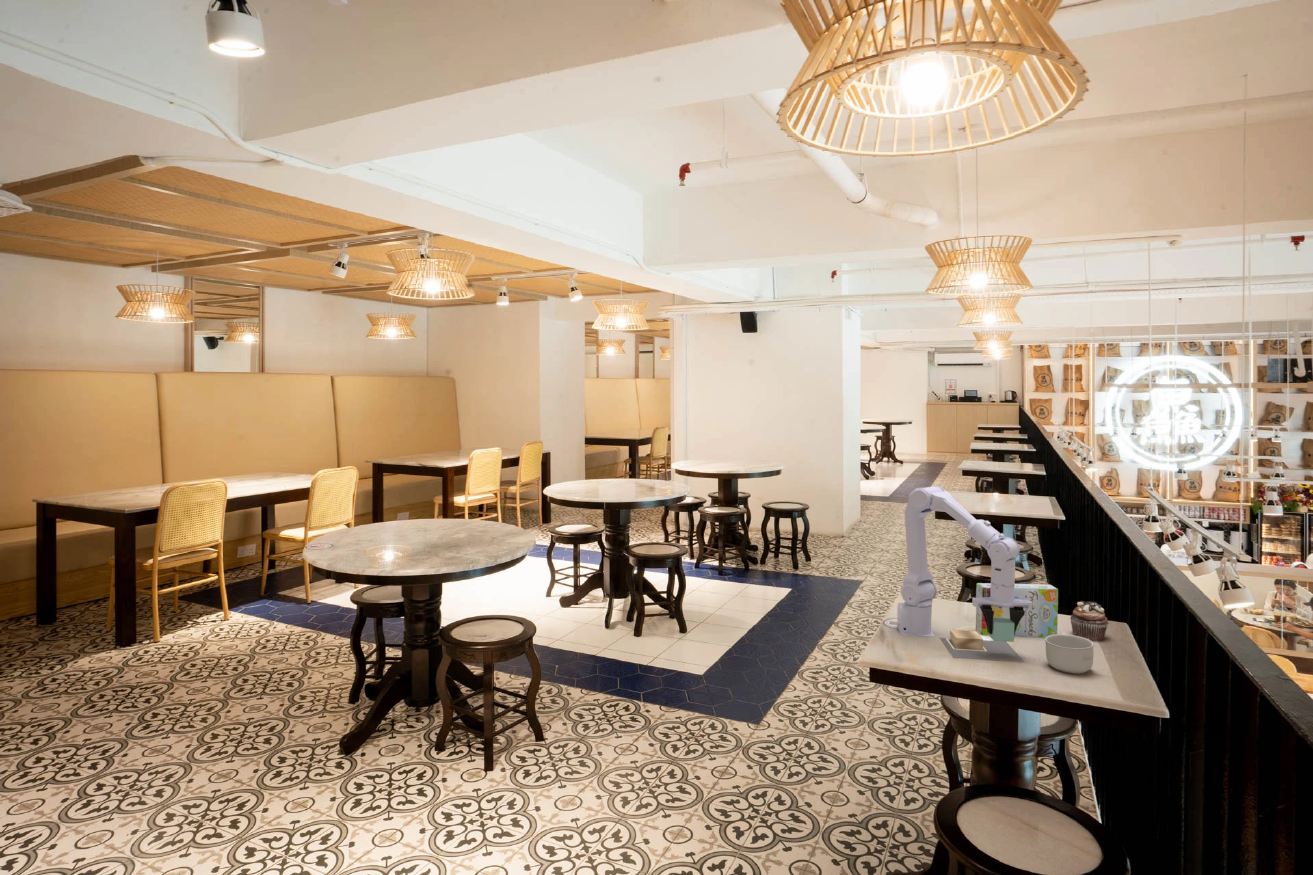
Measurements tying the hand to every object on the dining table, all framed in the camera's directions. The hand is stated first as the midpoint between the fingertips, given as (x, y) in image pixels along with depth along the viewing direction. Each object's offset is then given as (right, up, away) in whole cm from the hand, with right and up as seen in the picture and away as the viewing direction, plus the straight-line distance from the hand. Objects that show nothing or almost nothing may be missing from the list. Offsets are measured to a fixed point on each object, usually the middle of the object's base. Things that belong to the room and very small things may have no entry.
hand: (1000, 633), depth 190 cm
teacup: (+14, -7, -7) cm, 17 cm away
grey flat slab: (-3, -6, +5) cm, 9 cm away
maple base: (-6, -6, +8) cm, 11 cm away
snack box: (+13, -6, +18) cm, 23 cm away
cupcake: (+34, -6, +18) cm, 39 cm away
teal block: (0, -1, 0) cm, 1 cm away
